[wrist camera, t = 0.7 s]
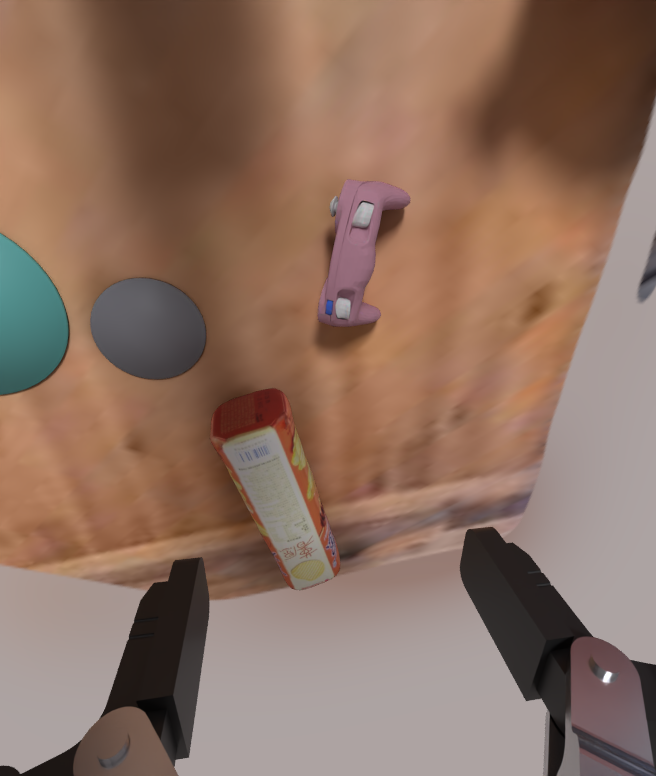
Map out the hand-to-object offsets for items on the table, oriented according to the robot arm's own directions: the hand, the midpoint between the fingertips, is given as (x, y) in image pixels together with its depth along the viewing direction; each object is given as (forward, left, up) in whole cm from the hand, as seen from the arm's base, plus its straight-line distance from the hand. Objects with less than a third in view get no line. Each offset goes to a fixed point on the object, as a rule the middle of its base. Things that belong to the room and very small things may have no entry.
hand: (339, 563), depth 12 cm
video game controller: (-6, +5, -23) cm, 24 cm away
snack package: (+17, +2, -23) cm, 28 cm away
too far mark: (+3, -10, -22) cm, 25 cm away
